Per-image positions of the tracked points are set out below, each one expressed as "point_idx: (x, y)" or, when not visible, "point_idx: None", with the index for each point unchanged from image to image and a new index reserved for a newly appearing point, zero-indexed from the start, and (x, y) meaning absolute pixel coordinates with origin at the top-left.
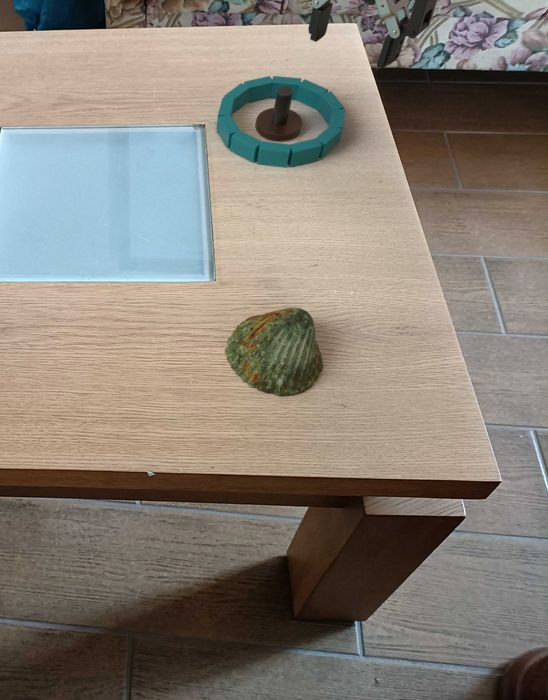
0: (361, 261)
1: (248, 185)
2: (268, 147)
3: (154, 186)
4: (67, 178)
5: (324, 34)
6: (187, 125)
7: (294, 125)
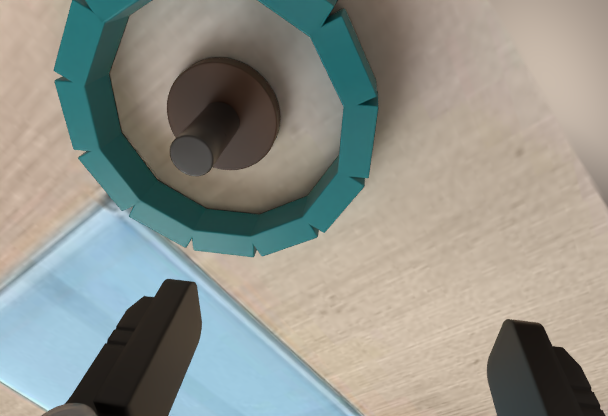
0: None
1: (293, 280)
2: (273, 246)
3: None
4: None
5: (193, 286)
6: (93, 208)
7: (259, 115)
